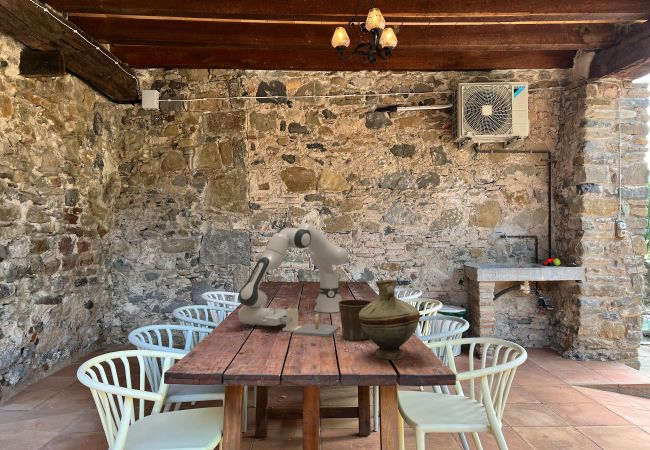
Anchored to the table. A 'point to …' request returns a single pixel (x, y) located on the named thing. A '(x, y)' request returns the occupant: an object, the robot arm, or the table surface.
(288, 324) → the collar
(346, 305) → the plant pot
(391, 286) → the brown ceramic vase
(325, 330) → the post plate
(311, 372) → the table surface
